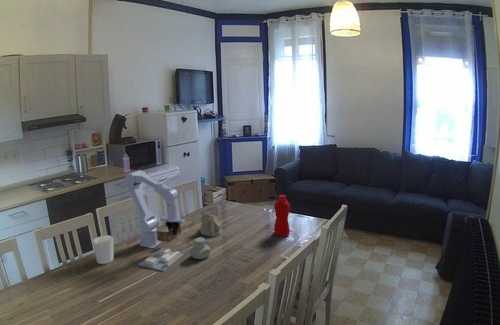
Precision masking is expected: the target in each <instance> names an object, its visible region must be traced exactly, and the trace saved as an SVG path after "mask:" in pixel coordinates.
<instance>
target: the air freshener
mask: <svg viewBox="0 0 500 325" xmlns="http://www.w3.org/2000/svg"><path fill="white" fill-rule="evenodd" d="M189 254H190V257H192V258H193V259H194V260H195V259H196V260H204V259H206V258H207V257H209V256H210V254H211V248H210V247H209V246H208V245H207V244H206V239H205V237H200V236H199V237H197V238H195V239H194V240H193V246H192V247H191V248H190V250H189Z"/></svg>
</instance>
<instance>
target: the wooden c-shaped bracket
mask: <svg viewBox="0 0 500 325" xmlns="http://www.w3.org/2000/svg"><path fill="white" fill-rule="evenodd" d="M167 229H168V228H167ZM156 233H157V240H158V241H159V242H165V243H166V242H167V243H170V242H172V241H173V240H174V239H175V238H177V237H178V236H180V235H181V234H182V224H180V225H179V227H178V231H177V234H176V235H174V233H173V228H172V229H171V230H169V229H168V231H162V230H161V231H159V230H157V232H156Z"/></svg>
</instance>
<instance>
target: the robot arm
mask: <svg viewBox="0 0 500 325" xmlns="http://www.w3.org/2000/svg"><path fill="white" fill-rule="evenodd" d="M124 181H125V183H126V186H127V189H128V192H129V194H130V196H131V198H132V200H133V202H134V205H135V206H136V209H137V211H138V214H139V215H140V219H139V226H140V229H141V230H140V232H139V241H140V242H139V243H140V244H139V246H140V247H145V248H147V249H155V247H156V246H159V244H161V243H162V241H159V240H157V233H156V232H157V231H158V227H159V226H160V221H161V222H163V221H165V223H164V224H165V226H166V227H167V229H169V230H171V229H172V228H173V233H174V235H176V234H177V231H178V227H179V225H184V224H185V223H186V219H183V218H180V217H179V216H178V215H179V214H178V198H179V196H180V194H179V191H178V189H176V188H173V187H172V188H171V187H170V186H168V185H166V184H164V182H157V181H155V180H154V179H152V178H151V177H150V176H149V175H148V174H147V173H146V172H145V171H144V170H141V169H138V170H136V171H133V172H130V173H129V172H128V173H126V175H125V177H124ZM142 183H143V184H146V185H147V186H148V187H151V188H153V190H154V192H155V193H157V194H159V195H160V196H162V197H163V199H164V201H165V204H166V205H165V206H166V215H167V216H164V215H163V216H161V217H160V220H159V218H158V217H157V216H156V214H154V213H153V212H151V211H150V209H149V207H148V204H147V203H146V200H145V198H144V196H143V194H142V192H141V189H140V186H141V185H142ZM169 230H168V231H169Z"/></svg>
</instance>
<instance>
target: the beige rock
mask: <svg viewBox="0 0 500 325" xmlns="http://www.w3.org/2000/svg"><path fill="white" fill-rule="evenodd" d="M211 214H212V213H209V214H208V213H207V212H206V210H203V213H202V215H201V226H200V232H199V233H200V234H201V235H204V236H208V237H213V238H214V237H215V238H216V237H217V238H218V237H220V236H222V235H223V234H224V230H223V229H222V228H223V226H222V225H223V223H222V222H221V221H220V220H219V219H218V216H216V215H214V214H212V215H211Z"/></svg>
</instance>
